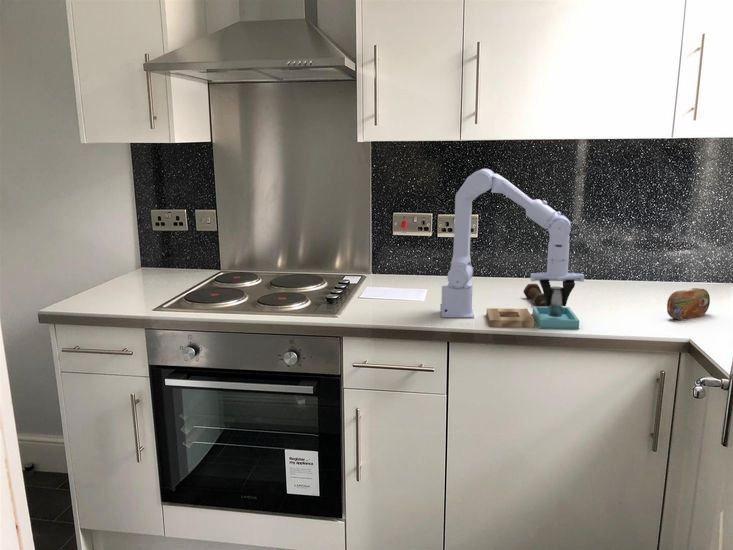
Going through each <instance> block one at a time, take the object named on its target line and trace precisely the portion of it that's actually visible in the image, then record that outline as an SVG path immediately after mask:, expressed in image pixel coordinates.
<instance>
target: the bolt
mask: <svg viewBox="0 0 733 550" xmlns="http://www.w3.org/2000/svg"><path fill="white" fill-rule="evenodd" d="M523 294H524V295H525V297H526V299H527V300H532V302H533V304H534V307H548V306H546V303H545V296H544V292H543V291H542V289H541V288H540V286H539V284H538V283H528V284H527V285H526V286H525V288H524V290H523Z"/></svg>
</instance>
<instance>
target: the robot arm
mask: <svg viewBox="0 0 733 550" xmlns="http://www.w3.org/2000/svg"><path fill="white" fill-rule="evenodd" d="M490 189H491V191H490V193H492V194H493V193H495V194H503V195H504V196H506V197H507V198H508V199H509V200H511V201H513V202H514V203H516V204H517V205H518V206H520V207H521V208H523V209H524V210H525V215H526V217H527V218H529V219H530V220H532V221H533V222H534V223H536V224H537V225H538V226H540V227H542V228H543V229H545V230H548V234H549V241H548V245H547V262H546V263H547V266H546V272H536V273H535V272H532V273H530V282H536V281H538V282H539V283H540V286H541V290H542V293H544V296H545V303H546V306H549V303H550V299H549V295H550V287H552V286H551V285H552V284H551V283H550V282H562V288H564V295H563V307H567V302H568V299H569V296H570V295H571V292H572V291H573V289H574V288H575V285H576V283H575V282H583V283H584V282H585V274H584V273H577V272H569V260H570V259H569V258H570V245H571V244H570V240H571V239H570V234H571V232H572V229H571V221H570V220H569V219H568V217H567V216H566V215H563V214H562V212H560V211H559V210H558V211H556V210H555V209H553V208H552V207H551V206H550V205H548V201H546V200H545V199H543V200H541V199H539V198H538V199H532V198H531V197H530V196H528V195H527V194H526V193H524V192H523V191H522V190H520V189H519V188H518V187H517V186H515V185H514V184H513V183H511V182H510V181H509V180H508V179H506V178H505V177H503V176H502V175H500V174H499V173H495V172H494V171H493V170H492V169H489V168H481V169H478V170H476V171H474V172H473V173H471V174H470V175H469V176H467V178H466V179H465V181H464V182H463V184H462V185H461V186H460V187H459V190H458V191H457V192H456V193H455V196H454V197H455V198H454V199H455V200H454V203H455V204H454V224H453V225H454V228H453V229H454V230H453V250H452V251H453V253H452V258H451V261H450V269H449V271H448V273H447V278H446V279H447V282H448V284H447V285H442V286H441V303H440V311H441V312H440V313H441V318H464V319H465V318H466V319H467V318H470V319H471V318H474V317H475V316H474V309H473V283H472V282H471V280H470V279H472V278H473V275H474V268H473V266H472V263H471V261H472V259H471V252H470V251H471V237H472V236H471V234H472V233H471V232H472V231H471V230H472V212H473V201H474V200H475V199H477V198H478V197H479V196H480V195H482V194H484V193H486V192H487V191H489V190H490Z"/></svg>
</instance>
